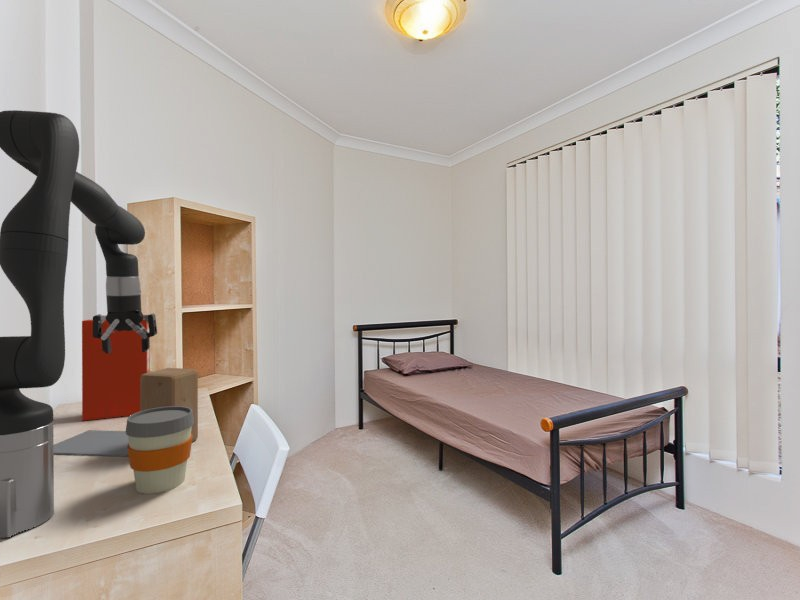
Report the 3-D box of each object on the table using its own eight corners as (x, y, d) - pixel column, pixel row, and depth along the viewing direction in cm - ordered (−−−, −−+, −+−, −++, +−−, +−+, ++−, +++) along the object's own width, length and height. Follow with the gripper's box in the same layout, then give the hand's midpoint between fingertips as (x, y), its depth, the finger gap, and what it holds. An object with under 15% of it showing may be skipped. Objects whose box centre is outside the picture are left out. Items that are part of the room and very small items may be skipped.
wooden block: (171, 454, 99) (171, 375, 99) (138, 450, 101) (138, 374, 101) (199, 439, 109) (199, 368, 109) (168, 436, 111) (168, 366, 111)
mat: (126, 456, 98) (126, 454, 97) (35, 453, 99) (35, 452, 99) (167, 433, 113) (167, 432, 113) (89, 431, 115) (89, 430, 115)
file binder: (89, 414, 131) (88, 319, 130) (149, 408, 138) (149, 318, 138) (82, 421, 123) (81, 321, 123) (146, 414, 131) (146, 319, 131)
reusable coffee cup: (186, 465, 93) (186, 402, 93) (200, 484, 84) (200, 415, 83) (122, 481, 85) (121, 413, 84) (130, 505, 75) (130, 428, 75)
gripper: (85, 294, 98) (89, 357, 100) (150, 294, 103) (152, 354, 104) (98, 291, 105) (101, 350, 107) (158, 291, 110) (160, 348, 112)
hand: (126, 352), depth 106 cm, fingers open, 8 cm apart
